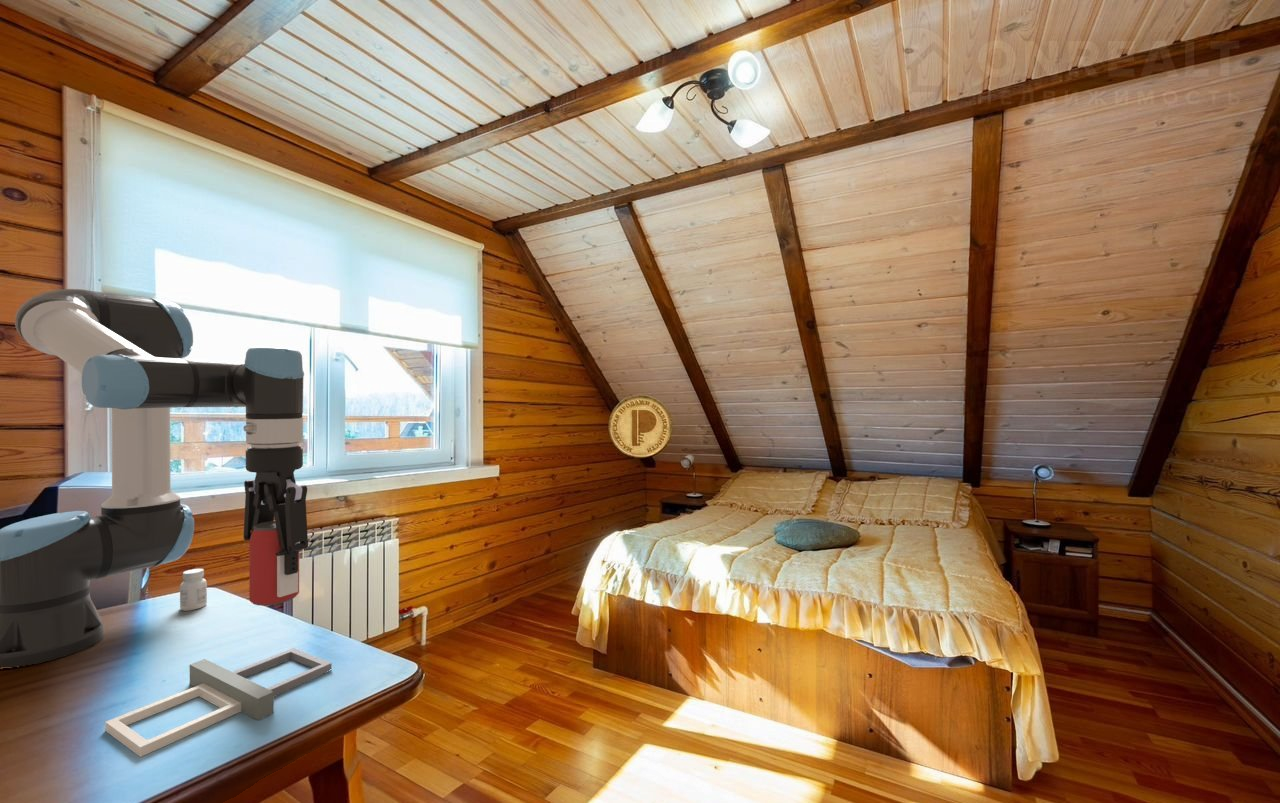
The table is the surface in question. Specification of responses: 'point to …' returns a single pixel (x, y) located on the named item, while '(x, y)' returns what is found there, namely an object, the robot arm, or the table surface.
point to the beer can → (265, 566)
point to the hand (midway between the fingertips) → (274, 589)
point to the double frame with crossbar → (216, 698)
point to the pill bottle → (193, 590)
